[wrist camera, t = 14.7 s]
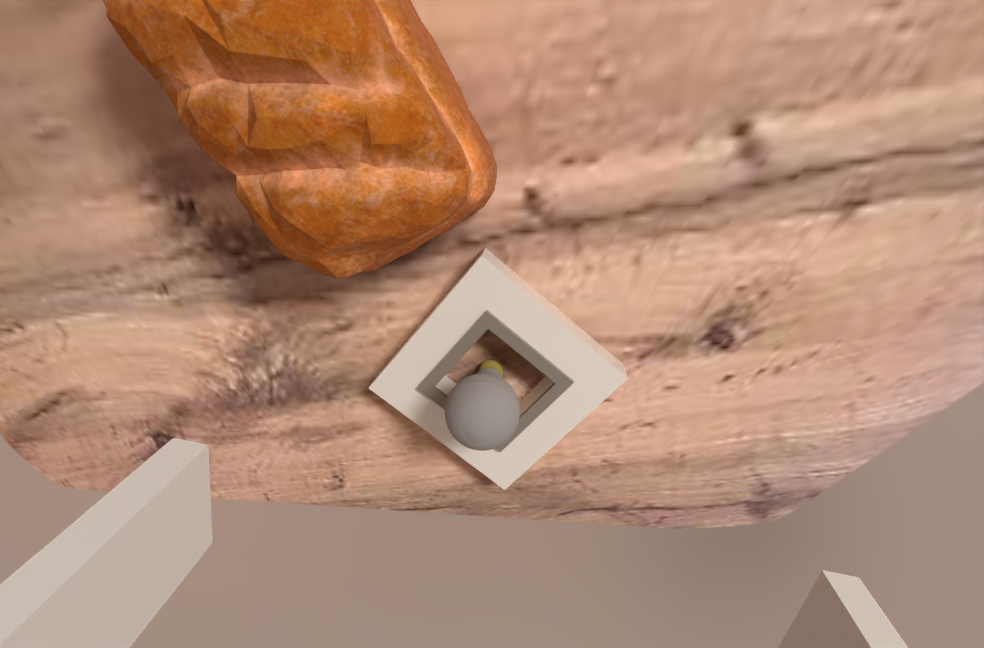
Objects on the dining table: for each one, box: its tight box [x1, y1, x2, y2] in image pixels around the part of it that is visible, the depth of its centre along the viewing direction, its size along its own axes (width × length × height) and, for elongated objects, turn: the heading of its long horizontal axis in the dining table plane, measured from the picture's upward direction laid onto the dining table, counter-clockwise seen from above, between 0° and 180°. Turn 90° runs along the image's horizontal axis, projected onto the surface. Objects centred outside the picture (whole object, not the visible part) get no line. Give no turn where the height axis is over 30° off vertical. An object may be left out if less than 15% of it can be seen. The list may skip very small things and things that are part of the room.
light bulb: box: [444, 360, 520, 451], centre depth 39 cm, size 5×6×10 cm
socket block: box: [369, 248, 628, 490], centre depth 42 cm, size 15×15×3 cm
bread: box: [103, 0, 497, 277], centre depth 29 cm, size 14×26×16 cm, turn 30°
